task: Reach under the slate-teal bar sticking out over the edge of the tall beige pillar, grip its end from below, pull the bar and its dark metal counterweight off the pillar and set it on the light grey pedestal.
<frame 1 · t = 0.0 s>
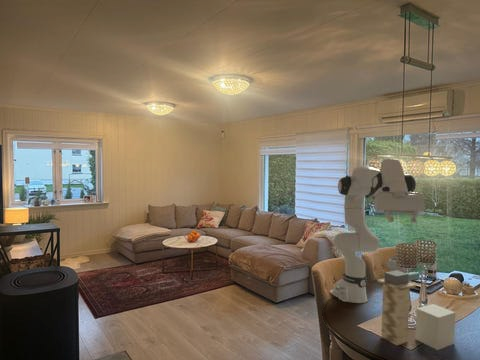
hand: (402, 222, 136), 54 cm above the table, tool tilted 30°, fingers open, 8 cm apart
teal bar: (396, 282, 146), point 26 cm above the table, touching beige pillar
grey pedestal: (434, 341, 146), on the table
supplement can: (429, 276, 239), on the table
beige pillar: (394, 339, 147), on the table
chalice: (398, 281, 226), on the table
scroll: (407, 276, 237), on the table
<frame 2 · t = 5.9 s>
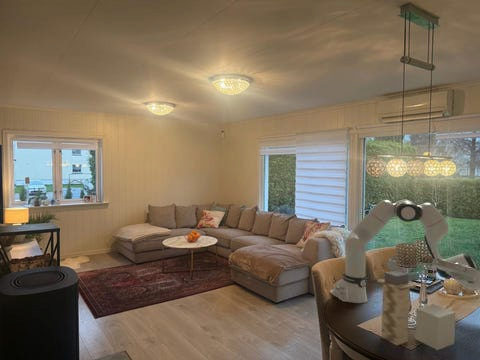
hand: (446, 262, 160), 32 cm above the table, tool pointing upward, fingers open, 8 cm apart
nothing on the table moved.
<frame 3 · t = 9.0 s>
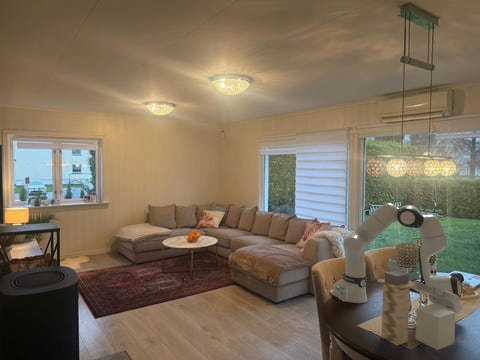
hand: (424, 286, 156), 21 cm above the table, tool pointing upward, fingers open, 8 cm apart
nothing on the table moved.
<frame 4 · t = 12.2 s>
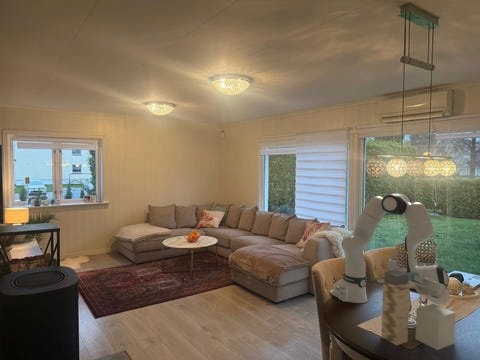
hand: (409, 275, 151), 28 cm above the table, tool pointing upward, fingers closed on teal bar, 3 cm apart
teal bar: (396, 282, 146), point 26 cm above the table, touching beige pillar, gripper
everything else where it was.
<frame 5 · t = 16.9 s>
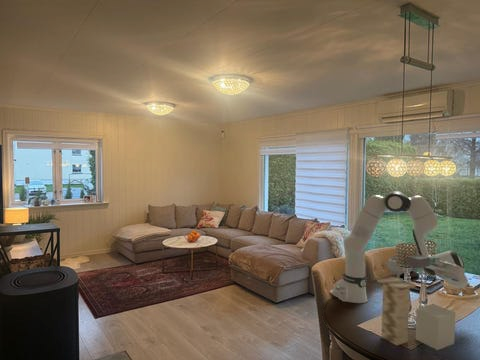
hand: (430, 259, 156), 34 cm above the table, tool pointing upward, fingers closed on teal bar, 3 cm apart
teal bar: (418, 265, 152), point 32 cm above the table, touching gripper
everything else where it was.
when the fingers open (18 cm above the table, at t = 21.8 s): teal bar drops 3 cm, resting on grey pedestal.
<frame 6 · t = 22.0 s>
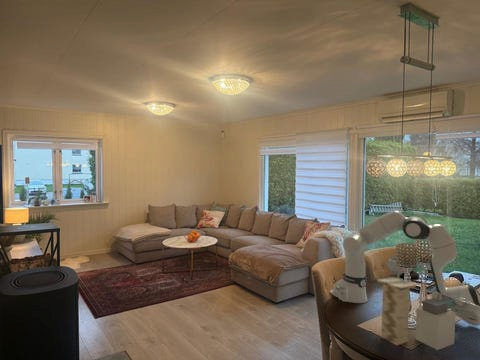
hand: (447, 297, 149), 18 cm above the table, tool pointing upward, fingers open, 5 cm apart
teal bar: (434, 310, 145), point 14 cm above the table, touching grey pedestal
everything else where it was.
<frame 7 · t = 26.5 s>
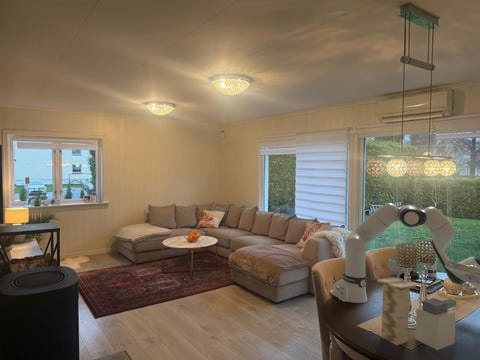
hand: (461, 264, 155), 32 cm above the table, tool pointing upward, fingers open, 8 cm apart
nothing on the table moved.
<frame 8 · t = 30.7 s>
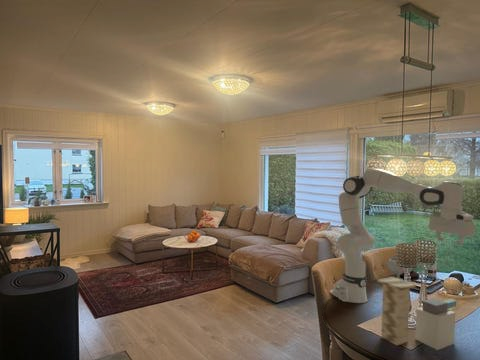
hand: (449, 242, 161), 41 cm above the table, tool pointing down, fingers open, 8 cm apart
nothing on the table moved.
at the end: teal bar inside the target area on the grey pedestal (0.6 cm from its centre), point 14.0 cm above the grey pedestal's base; the gripper is holding nothing; teal bar tilted 0° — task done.
